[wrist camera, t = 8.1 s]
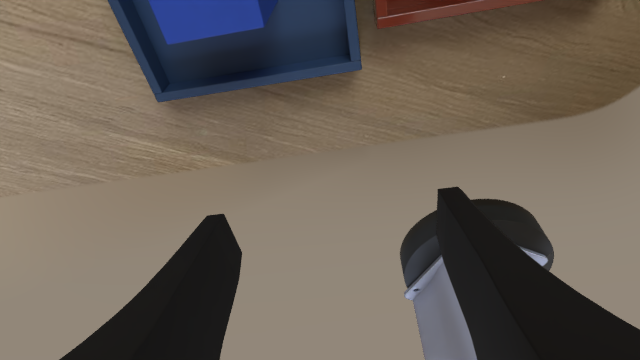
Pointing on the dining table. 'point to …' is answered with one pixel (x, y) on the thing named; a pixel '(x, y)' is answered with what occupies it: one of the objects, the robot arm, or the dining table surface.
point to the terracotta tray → (431, 9)
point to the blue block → (209, 17)
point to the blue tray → (244, 49)
